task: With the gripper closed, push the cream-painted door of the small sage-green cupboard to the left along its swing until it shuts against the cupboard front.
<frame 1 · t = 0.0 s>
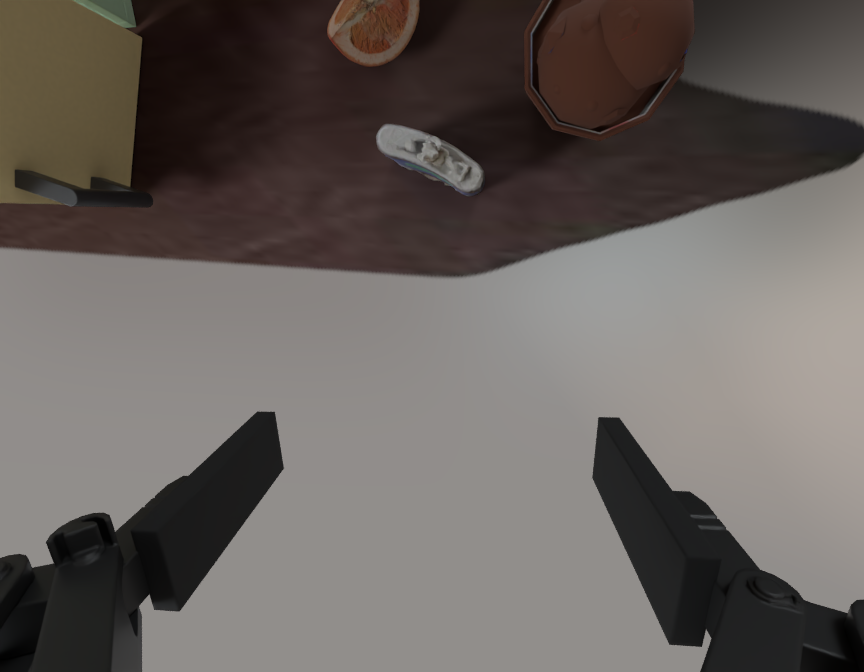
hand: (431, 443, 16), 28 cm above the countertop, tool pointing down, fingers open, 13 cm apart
fruit slice: (382, 28, 36), on the countertop
ice cream bowl: (569, 92, 37), on the countertop
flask: (440, 168, 39), on the countertop
door: (89, 117, 34), point 8 cm above the countertop, hinge at 70.0°
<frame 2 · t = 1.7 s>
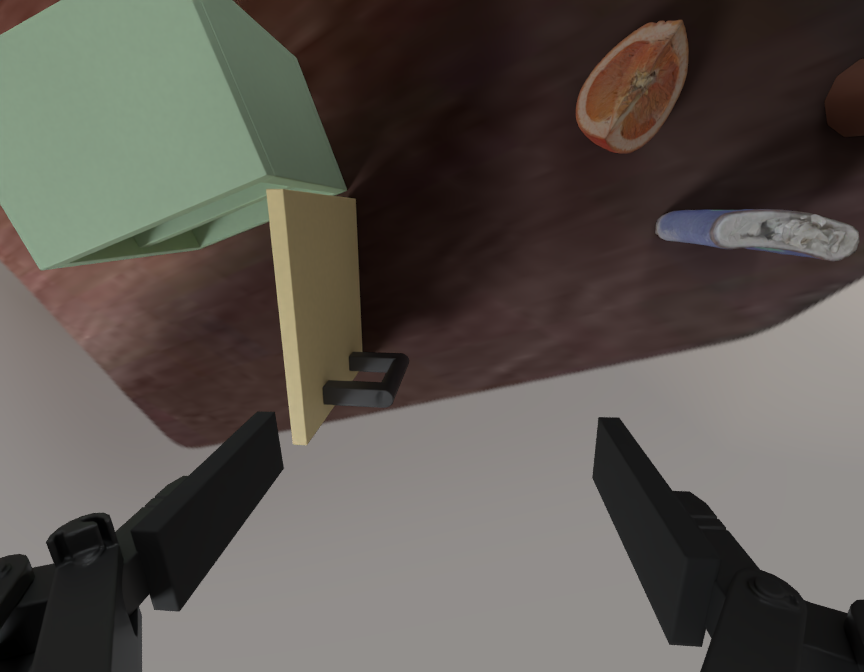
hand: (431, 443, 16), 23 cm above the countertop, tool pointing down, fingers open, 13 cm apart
cupboard: (243, 161, 36), on the countertop
fruit slice: (618, 104, 32), on the countertop
ice cream bowl: (861, 98, 31), on the countertop
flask: (708, 228, 34), on the countertop
door: (361, 304, 31), point 8 cm above the countertop, hinge at 70.0°
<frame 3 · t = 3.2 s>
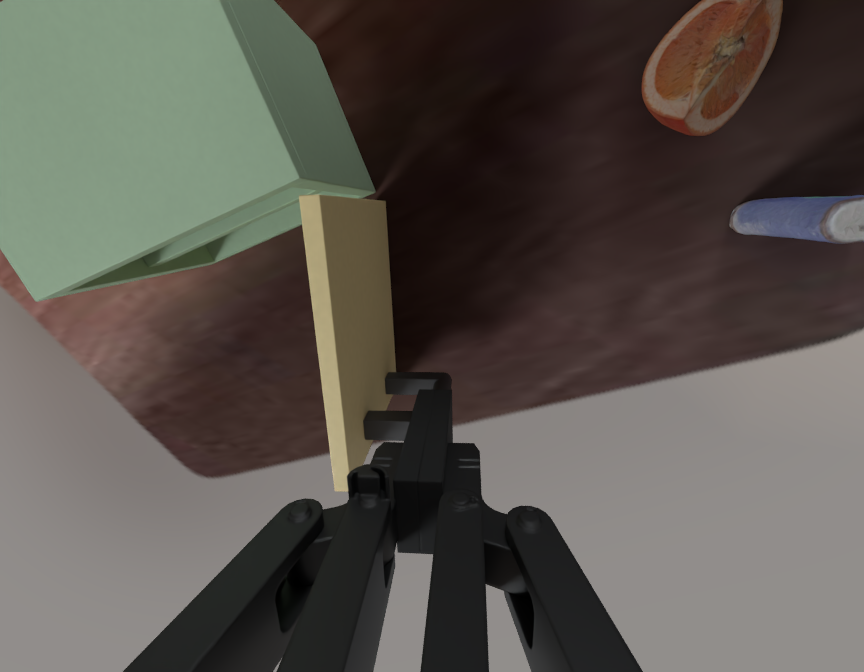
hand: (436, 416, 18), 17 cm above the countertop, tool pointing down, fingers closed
cupboard: (259, 164, 32), on the countertop
fruit slice: (687, 79, 28), on the countertop
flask: (791, 218, 30), on the countertop
door: (401, 322, 27), point 8 cm above the countertop, hinge at 70.0°
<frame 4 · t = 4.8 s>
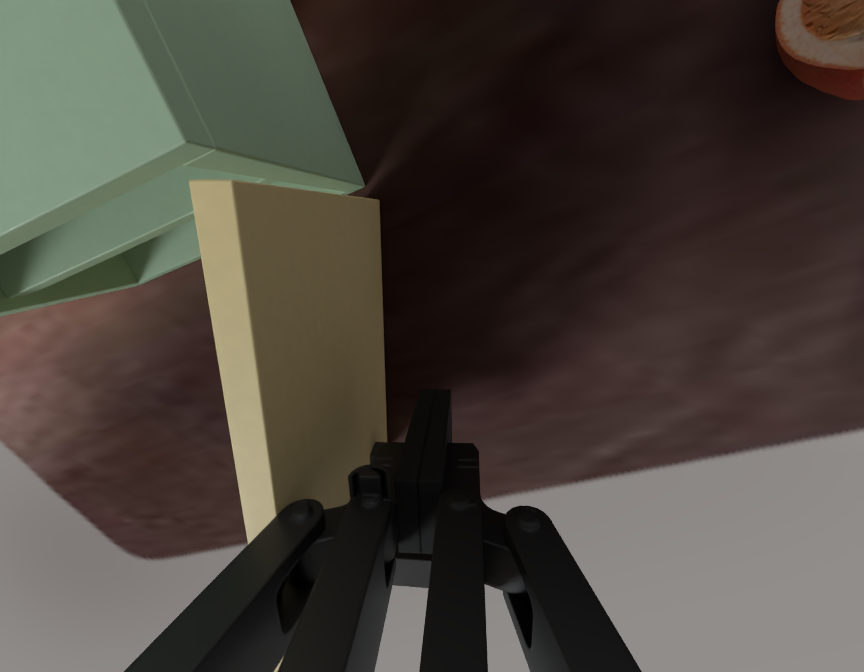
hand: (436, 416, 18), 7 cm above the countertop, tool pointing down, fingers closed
cupboard: (199, 145, 23), on the countertop
fruit slice: (833, 20, 19), on the countertop
door: (397, 387, 18), point 8 cm above the countertop, hinge at 68.4°, touching hand
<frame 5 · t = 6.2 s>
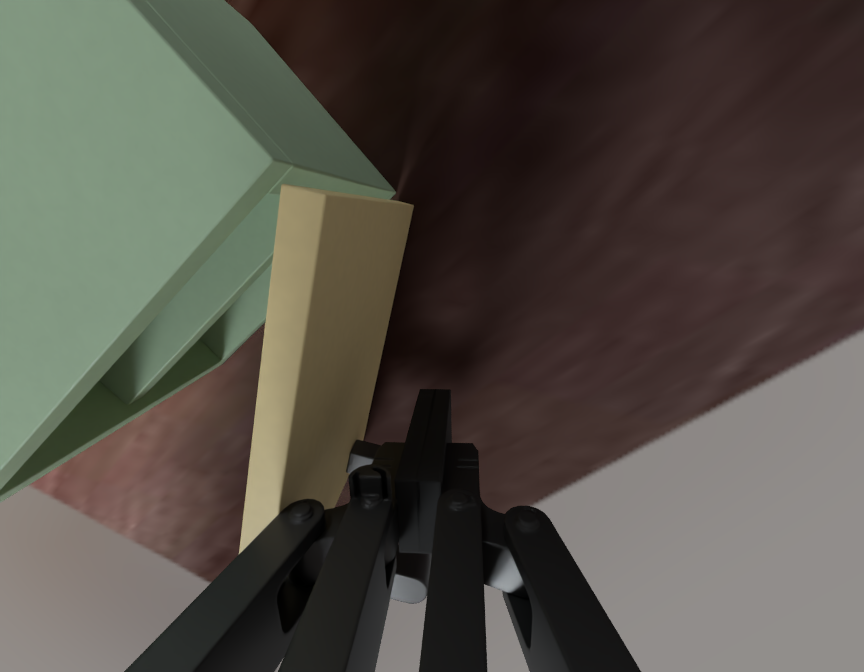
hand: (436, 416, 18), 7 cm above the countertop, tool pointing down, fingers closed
cupboard: (235, 215, 24), on the countertop
door: (399, 398, 18), point 8 cm above the countertop, hinge at 34.6°, touching hand
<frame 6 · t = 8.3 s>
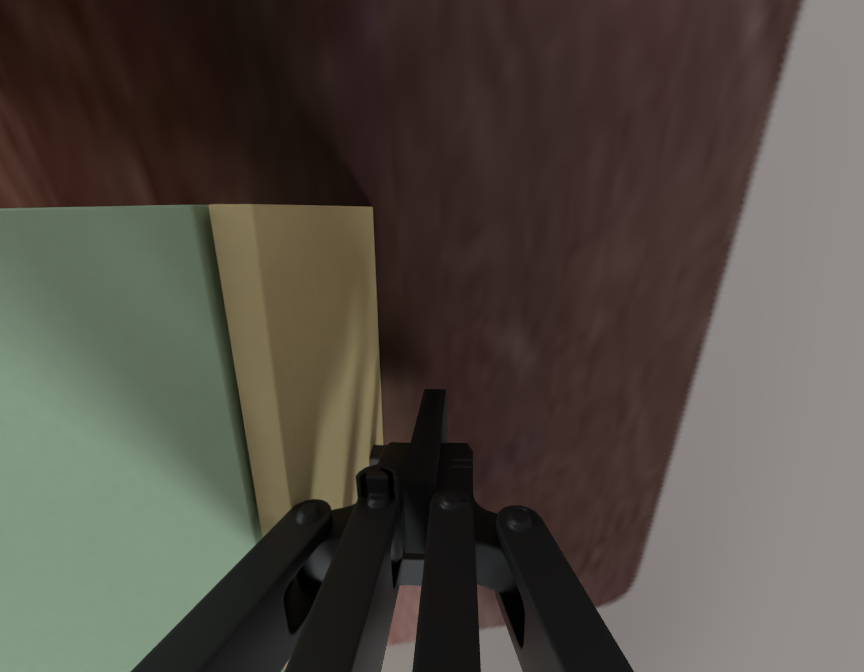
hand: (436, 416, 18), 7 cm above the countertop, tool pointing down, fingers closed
cupboard: (276, 340, 26), on the countertop
door: (398, 392, 18), point 7 cm above the countertop, hinge at -0.9°, touching cupboard, gripper, hand
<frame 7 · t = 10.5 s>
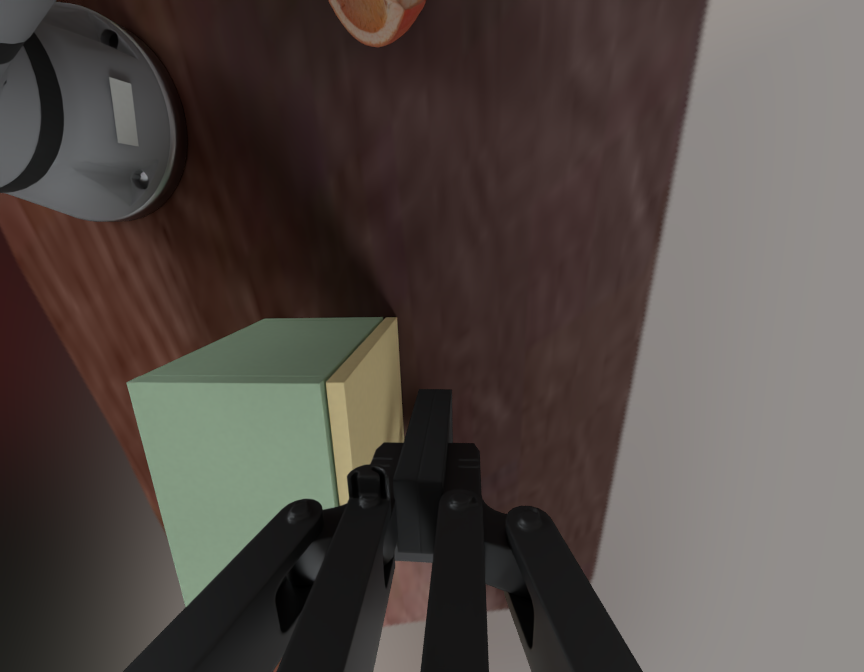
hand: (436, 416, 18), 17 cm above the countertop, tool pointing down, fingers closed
cupboard: (332, 400, 38), on the countertop
door: (412, 444, 30), point 8 cm above the countertop, hinge at -0.2°
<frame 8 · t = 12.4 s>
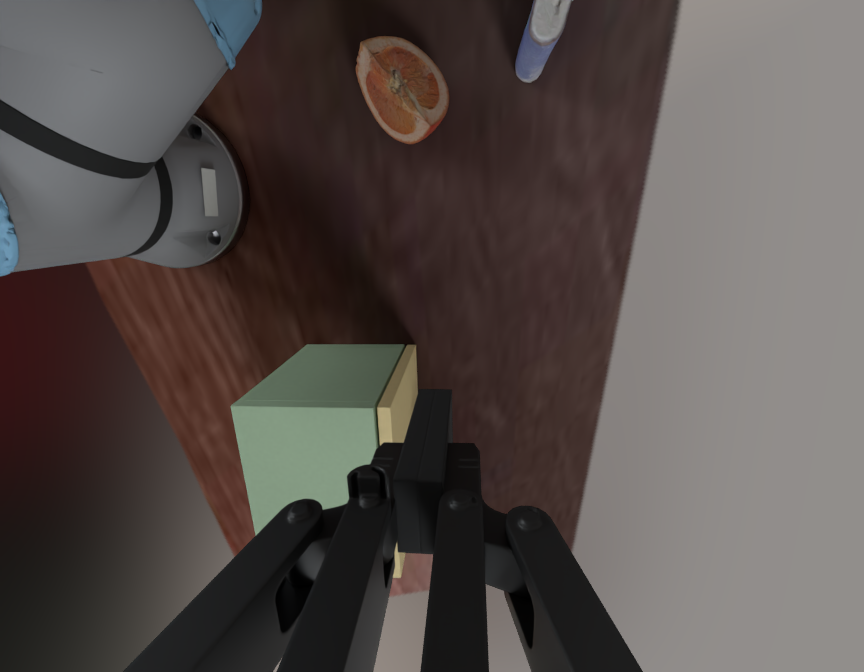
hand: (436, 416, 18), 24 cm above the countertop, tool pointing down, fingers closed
cupboard: (361, 409, 46), on the countertop
fruit slice: (408, 99, 37), on the countertop
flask: (545, 25, 34), on the countertop
door: (431, 447, 38), point 8 cm above the countertop, hinge at -0.2°
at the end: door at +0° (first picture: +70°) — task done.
